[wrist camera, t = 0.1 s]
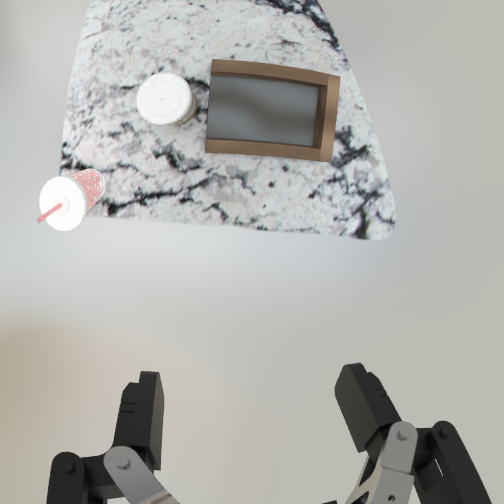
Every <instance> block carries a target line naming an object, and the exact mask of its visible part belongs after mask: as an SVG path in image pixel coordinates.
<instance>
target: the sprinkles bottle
mask: <svg viewBox="0 0 504 504" xmlns="http://www.w3.org/2000/svg"><path fill="white" fill-rule="evenodd" d="M197 104H198V103H197V100H196V97H195V96H194V94H193V93H192V91H191V88H190V86H189V84H188V83H187V82H186V80H185V79H183V78H182V77H181V76H179V75H177V74H175V73H171V72H160V73H157V74H154V75H152V76H150V77H149V78H147V79H146V80H145V81H144V82H143V83H142V84H141V86H140V88H139V89H138V92H137V95H136V107H137V110H138V112H139V114H140V115H141V117H142V118H143V119H144V120H146V121H147V122H149V123H151V124H154V125H170V124H173V123H184V122H187V121H188V120H190V119H191V118H192V117H193V116H194V115H195V113H196V111H197V107H198V105H197Z"/></svg>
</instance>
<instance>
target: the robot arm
mask: <svg viewBox="0 0 504 504" xmlns="http://www.w3.org/2000/svg"><path fill="white" fill-rule="evenodd" d="M335 397H336V399H337V402H338V404H339V407H340V409H341V412H342V414H343V416H344V419H345V421H346V424H347V426H348V429H349V431H350V433H351V436H352V438H353V441H354V443H355V446H356V448H357V451H358V452H359V453H360V452H363V451H367V452H368V456H367V458H366V461H365V463H364V466H363V469H362V471H361V474H360V476H359V479H358V481H357V484H356V486H355V488H354V490H353V492H352V493H351V495H350V496H349V498H348V499H347V501H346V503H345V504H408V501H409V497H410V494H411V490H412V486H413V484H414V486H415V489H416V492H417V494H418V497H419V500H420V502H421V504H492V503H491V501H490V498H489V496H488V494H487V492H486V489H485V487H484V485H483V483H482V481H481V479H480V476H479V474H478V472H477V470H476V468H475V466H474V464H473V462H472V460H471V458H470V456H469V454H468V452H467V450H466V448H465V446H464V444H463V442H462V440H461V438H460V436H459V435H458V433H457V431H456V429H455V427H454V426H453V425H452V424H451V423H449V422H447V421H439V422H437V423H436V424H435V425H434V426H433V427H432V428H415V427H414V426H413V425H412V424H410V423H408V422H404V421H402V420H401V418H400V416H399V414H398V413H397V411H396V409H395V407H394V405H393V403H392V402H391V400H390V398H389V396H387V393H386V391H385V389H384V388H383V385H382V384H381V382H380V380H379V379H378V378H377V377H376V376H375V375H374V374H373V373H371V372H368V373H367V372H366V370H365V368H364V366H363V365H362V364H361V363H354V364H347V365H344V366H343V368H342V371H341V373H340V376H339V378H338V380H337V383H336V385H335ZM163 415H164V393H163V388H162V383H161V379H160V374H159V372H151V371H141V374H140V379H139V383H132V382H130V383H129V384H128V385H127V387H126V388H125V389H124V390H123V393H122V398H121V404H120V408H119V413H118V418H117V424H116V429H115V435H114V441H113V444H112V446H111V448H110V449H109V450H108V451H107V452H106V453H104V454H102V455H98V456H91V457H83V458H80V457H79V456H77V455H76V454H74V453H71V452H62V453H59V454H58V455H56V456H55V457H54V459H53V461H52V465H51V472H50V478H49V486H48V494H47V503H46V504H107V499H112V498H119V497H126V499H127V500H128V501H129V503H130V504H180V503H179V502H178V501H177V500H176V499H175V498H174V497H173V496H172V495H171V494H169V493H168V492H167V490H166V489H165V488H164V487H163V486H162V485H161V484H160V482H159V481H158V480H157V479H156V477H155V476H154V470H161V446H162V428H163ZM435 459H436V460H437V463H438V465H439V467H440V469H441V472H442V474H443V476H442V474H441V472H440V470H439V468H438V465H437V463H436V461H435ZM323 504H337V501H336V500H335V501H331V502H327V503H323Z"/></svg>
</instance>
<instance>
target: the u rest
mask: <svg viewBox="0 0 504 504" xmlns="http://www.w3.org/2000/svg"><path fill="white" fill-rule="evenodd" d="M339 87H340V77H339V76H335V75H330V74H326V73H321V72H316V71H311V70H305V69H300V68H294V67H288V66H281V65H274V64H266V63H257V62H247V61H235V60H218V59H212V67H211V82H210V93H209V105H208V119H207V133H206V142H205V153H228V154H246V155H261V156H273V157H285V158H295V159H304V160H313V161H321V162H329V163H331V158H332V151H333V143H334V135H335V126H336V117H337V108H338V98H339Z"/></svg>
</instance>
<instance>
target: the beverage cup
mask: <svg viewBox="0 0 504 504" xmlns="http://www.w3.org/2000/svg"><path fill="white" fill-rule="evenodd" d="M105 185H106V184H105V180H104V177H103V176H102V174H101V173H100V172H99V171H97V170H96V169H90V168H89V169H86V170H83V171H80V172H77V173H73V174H70V175H67V176H63V175H61V176H58V177H55V178H52V179H50V180H49V181H48V182H47V183H46V184H45V185H44V186H43V189H42V191H41V194H40V209H41V212H42V216H40V217H39V218H38V219H37V221H38V223H40V222H41V221H43V220H44V219H45V220H46V221H47V223H48V224H49V225H50V226H52V227H54V228H55V229H56V230H62V231H68V230H71V229H74V228H75V227H76V226H77V225H78V224H80V223H81V221H82V220H83V219H84V216H85V214H86V213H87V212H88V211H89V210H90V209H91V208H92V206H93V205H94V204H95V203H96V202H97V201H98V200H99V199H100V198H101V197H102V195H103V193H104V192H105Z"/></svg>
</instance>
